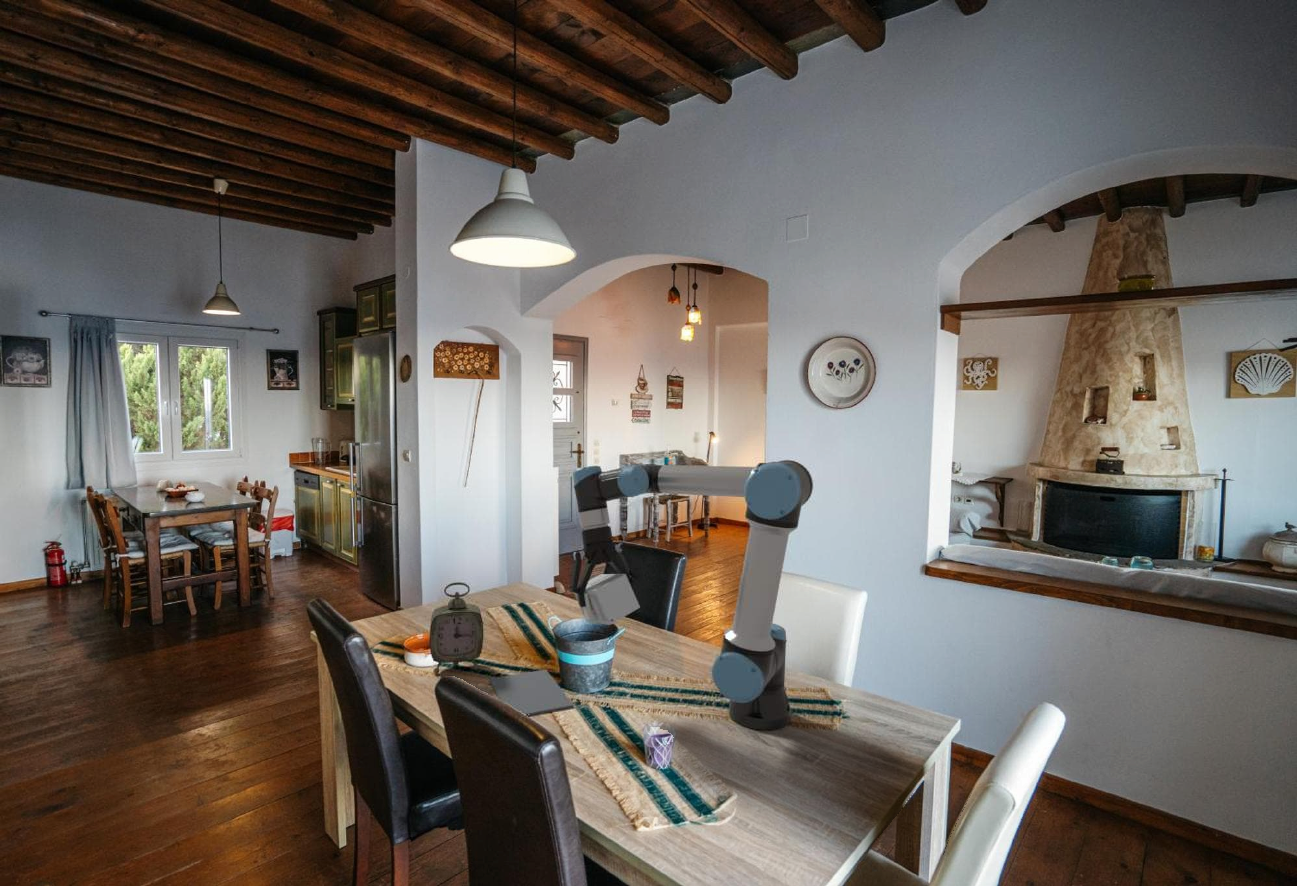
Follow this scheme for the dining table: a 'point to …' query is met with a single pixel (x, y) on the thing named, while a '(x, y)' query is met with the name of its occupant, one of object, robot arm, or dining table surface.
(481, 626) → the tabletop clock
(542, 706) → the mat
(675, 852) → the dining table surface
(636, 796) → the dining table surface
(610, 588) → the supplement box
